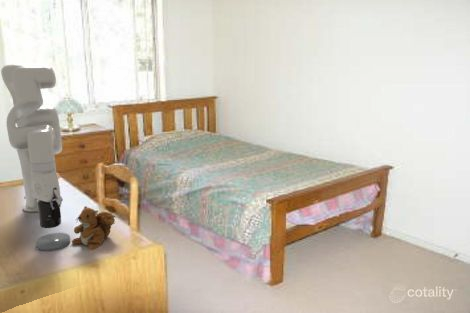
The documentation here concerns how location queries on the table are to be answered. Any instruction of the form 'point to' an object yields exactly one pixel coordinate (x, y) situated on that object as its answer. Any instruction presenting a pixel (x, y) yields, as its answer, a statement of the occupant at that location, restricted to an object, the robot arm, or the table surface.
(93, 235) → the stuffed squirrel
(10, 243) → the table surface
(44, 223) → the supplement bottle
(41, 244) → the slate plate
